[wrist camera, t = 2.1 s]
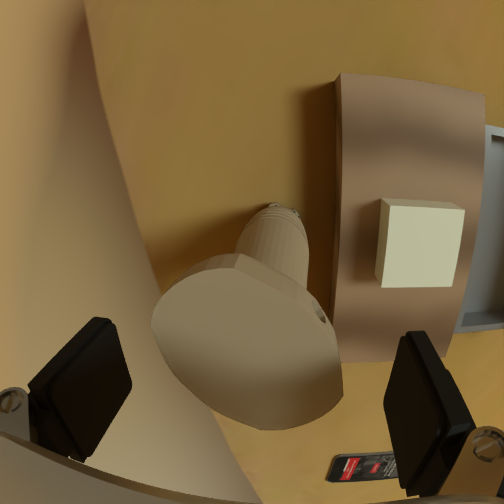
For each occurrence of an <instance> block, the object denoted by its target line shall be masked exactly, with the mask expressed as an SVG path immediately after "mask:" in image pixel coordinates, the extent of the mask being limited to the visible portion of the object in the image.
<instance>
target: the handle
mask: <svg viewBox="0 0 504 504" xmlns="http://www.w3.org/2000/svg"><path fill="white" fill-rule="evenodd" d="M308 263H309V247H308V240H307V236H306V232H305V229H304V226H303V224H302V222H301V220H300V216H299V214H298V212H297V211H296V210H295V209H293V208H292V209H288V208H286V207H283V206H281V205H280V204H278V203H277V202H274V203H270V205H269V206H268V207H267V208H265V209H262V210H261V211H259V212H258V213H257V214H255V215H254V216H253V217H252V218H251V219H250V221H249V222H248V223H247V224H246V226H245V228H244V229H243V231H242V233H241V235H240V237H239V239H238V242H237V245H236V248H235V252H234V253H228V254H222V255H215V256H213V257H210V258H208V259H205V260H203V261H200V262H198V263H197V264H195V265H194V266H192V267H190V268H189V269H187V270H186V271H185V272H184V273H183V274H182V275H180V276H179V277H178V278H177V279H176V280H175V281H174V282H173V283H172V284H171V286H170V287H169V288H168V289H167V291H166V292H165V293H164V295H163V296H162V297H161V299H160V300H159V301H158V303H157V304H156V306H155V308H154V311H153V314H152V317H151V323H150V327H151V330H152V332H153V335H154V337H155V339H156V342H157V344H158V346H159V349H160V351H161V353H162V355H163V357H164V359H165V361H166V363H167V365H168V367H169V368H170V370H171V371H172V373H173V374H174V375H175V376H176V377H177V378H178V380H179V381H180V382H181V383H182V384H183V385H185V387H186V388H188V389H189V390H190V391H191V392H192V393H193V394H194V395H195V396H196V397H198V398H199V399H200V400H201V401H202V402H203V403H205V404H206V405H207V406H209V407H210V408H211V409H213V410H214V411H216V412H218V413H220V414H222V415H224V416H226V417H228V418H231V419H233V420H235V421H238V422H240V423H243V424H245V425H248V426H251V427H254V428H256V429H259V430H284V429H289V428H294V427H298V426H301V425H304V424H307V423H309V422H311V421H314V420H316V419H318V418H320V417H322V416H323V415H325V414H326V413H328V412H329V411H330V410H332V409H333V408H334V407H335V406H336V405H337V404H338V402H339V401H340V400H341V398H342V397H343V380H342V370H341V362H340V355H339V349H338V344H337V340H336V335H335V331H334V329H333V327H332V325H331V323H330V322H329V320H328V318H327V316H326V315H325V313H324V311H323V310H322V308H321V306H320V305H319V303H318V301H317V300H316V299H315V298H314V297H313V296H312V295H311V294H310V293H309V292H308V291H307V290H306V289H307V275H308Z"/></svg>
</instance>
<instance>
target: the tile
mask: <svg viewBox="0 0 504 504" xmlns="http://www.w3.org/2000/svg"><path fill="white" fill-rule="evenodd" d="M464 215H465V210H464V209H462V208H461V207H459V206H457V205H455V204H453V203H451V202H439V201H424V200H407V199H387V198H381V211H380V225H379V236H378V247H377V256H376V265H375V276H376V278H377V280H378V282H379V284H380V286H381V288H401V287H452V283H453V279H454V274H455V269H456V264H457V259H458V254H459V248H460V242H461V236H462V229H463V222H464Z"/></svg>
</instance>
